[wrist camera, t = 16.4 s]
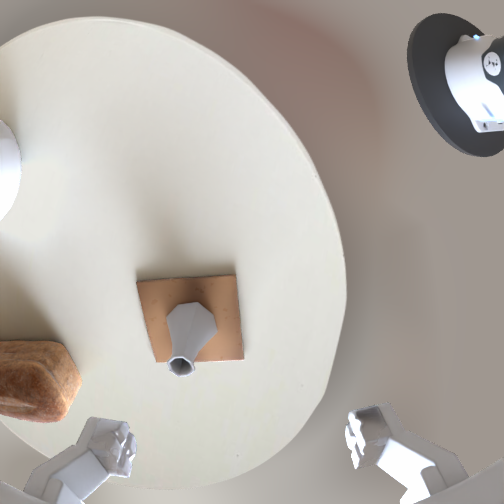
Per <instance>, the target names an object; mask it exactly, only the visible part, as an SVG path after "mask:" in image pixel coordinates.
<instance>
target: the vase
mask: <svg viewBox="0 0 504 504" xmlns="http://www.w3.org/2000/svg"><path fill="white" fill-rule="evenodd" d="M21 171H22V165H21V154H20V149H19V146H18V143H17V141H16V139H15V136H14V134H13V132H12V131H11V129H10V128H9V127H8V126H7V125H6V124H5V123H4V122H3V121H2V120H1V119H0V220H1V219H2V218H3V217H4V215H5V214H6V213H7V212H8V211H9V209H10V208H11V206H12V204H13V201H14V199H15V197H16V194H17V191H18V187H19V184H20V179H21Z"/></svg>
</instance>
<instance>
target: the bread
mask: <svg viewBox="0 0 504 504" xmlns="http://www.w3.org/2000/svg"><path fill="white" fill-rule="evenodd" d="M81 384H82V379H81V377H80V374H79V372H78V370H77V368H76V365H75V364H74V362H73V360H72V358H71V356H70V355H69V353H68V351H67V350H66V348H65V347H64V346H63V344H60V343H56V342H52V341H23V340H15V341H0V414H2V415H5V416H9V417H13V418H17V419H20V420H27V421H32V422H40V423H50V422H57V421H60V420H62V419H63V418H64V417H65V416H66V415H67V413H68V409H69V407H70V405H71V404H72V402H73V400H74V399H75V396H76V394H77V392H78V390H79V388H80V387H81Z"/></svg>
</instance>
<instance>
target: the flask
mask: <svg viewBox="0 0 504 504" xmlns="http://www.w3.org/2000/svg"><path fill="white" fill-rule="evenodd" d="M166 319H167V324H168V327H169V331H170V336H171V341H172V355H171V358H170V359H169V360H168V361H167V365H168V367H169V370H170V371H171V372H172V373H174V374H175V375H177V376H178V377H180V376H189V375H190V374H191V373H192V372H193V371H195V367H194V359H195V358H196V356H197V354H198V352H199V351H200V350H201V349H202V348H203V346H204V345H205V344H206V343H207V342H208V341H209V340H210V339H211V338H212V337H213V336H214V335H215V334H216V333H217V332H218V331H217V327H216V323H215V319H214V315H213V314H212V313H211V312H209V311H208V310H207V309H206V308H204V307H203V306H202V305H201V304H200V303H198V302H194V303H187V304H179V305H177V306H176V307H175V308H174V309H173V310H172V311H171V313H170V314H169V315H168V316H167V317H166Z"/></svg>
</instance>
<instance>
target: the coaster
mask: <svg viewBox="0 0 504 504" xmlns="http://www.w3.org/2000/svg"><path fill="white" fill-rule="evenodd" d="M136 284H137V288H138V293H139V297H140V302H141V306H142V310H143V314H144V318H145V322H146V326H147V330H148V334H149V338H150V342H151V345H152V349H153V352H154V356H155V359H156V362H167V361H168V360H169V359H170V358H171V355H172V341H171V336H170V331H169V327H168V324H167V319H166V317H167V316H168V315H169V314H170V313H171V311H172V310H173V309H174V308H175V307H176V306H177V305H179V304H187V303H194V302H198V303H200V304H201V305H202V306H203V307H204V308H206V309H207V310H208V311H209V312H211V313H212V314H213V315H214V319H215V323H216V327H217V331H218V332H217V333H216V334H215V335H214V336H213V337H212V338H211V339H210V340H209V341H208V342H207V343H206V344H205V345H204V346H203V348H202V349H201V350H200V351H199V352H198V354H197V356H196V358H195V359H194V362H214V361H234V360H244V353H243V343H242V333H241V324H240V314H239V303H238V293H237V283H236V274H233V275H219V276H204V277H189V278H174V279H157V280H140V281H137V282H136Z"/></svg>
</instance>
